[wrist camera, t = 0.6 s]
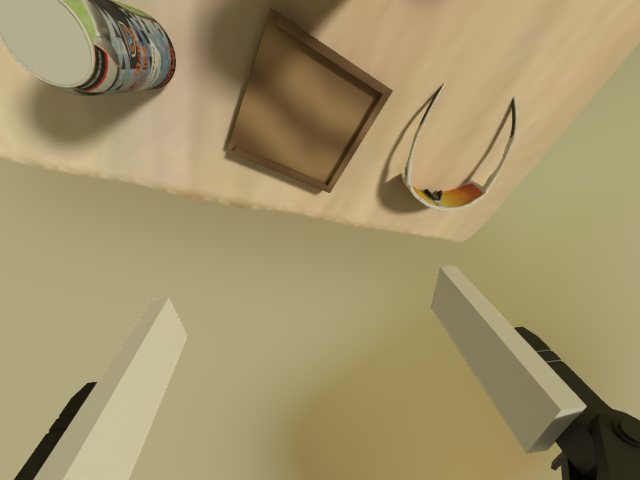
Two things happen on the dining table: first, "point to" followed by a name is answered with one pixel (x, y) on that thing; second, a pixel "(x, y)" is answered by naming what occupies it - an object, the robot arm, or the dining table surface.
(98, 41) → the beverage can
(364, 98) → the far tray
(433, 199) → the sunglasses
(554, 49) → the dining table surface
